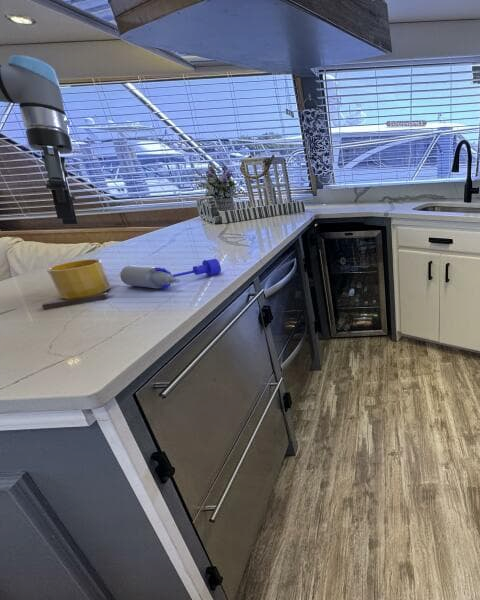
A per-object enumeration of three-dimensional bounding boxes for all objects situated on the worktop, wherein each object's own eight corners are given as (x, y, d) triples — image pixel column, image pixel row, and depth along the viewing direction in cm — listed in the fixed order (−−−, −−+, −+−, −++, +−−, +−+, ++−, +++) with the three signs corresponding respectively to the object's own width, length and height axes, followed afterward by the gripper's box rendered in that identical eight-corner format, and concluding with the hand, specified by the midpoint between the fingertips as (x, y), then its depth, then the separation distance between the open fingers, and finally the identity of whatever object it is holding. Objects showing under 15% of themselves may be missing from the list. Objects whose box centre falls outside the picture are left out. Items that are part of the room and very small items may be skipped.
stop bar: (43, 309, 77) (41, 305, 77) (46, 307, 78) (44, 302, 78) (107, 298, 82) (105, 294, 82) (108, 296, 84) (106, 292, 83)
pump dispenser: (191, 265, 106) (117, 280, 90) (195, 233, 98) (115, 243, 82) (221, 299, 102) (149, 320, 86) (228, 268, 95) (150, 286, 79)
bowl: (51, 302, 81) (35, 272, 78) (78, 288, 90) (66, 261, 87) (97, 297, 83) (84, 268, 80) (119, 284, 92) (108, 257, 89)
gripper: (65, 118, 71) (86, 216, 75) (73, 148, 89) (90, 226, 93) (13, 110, 66) (38, 215, 70) (33, 144, 85) (52, 226, 88)
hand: (68, 221), depth 81 cm, fingers open, 13 cm apart
